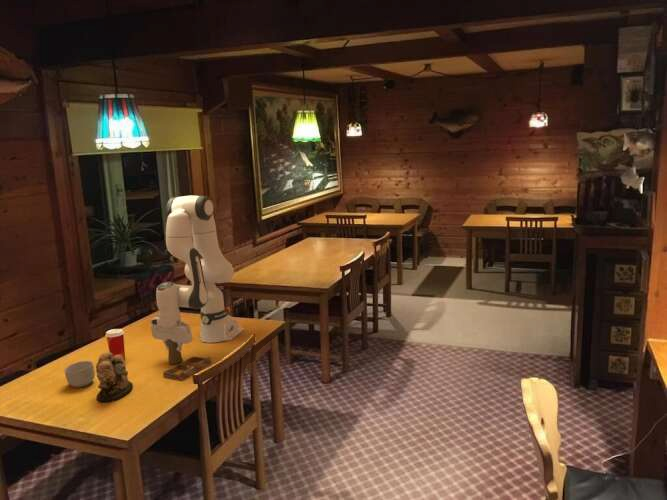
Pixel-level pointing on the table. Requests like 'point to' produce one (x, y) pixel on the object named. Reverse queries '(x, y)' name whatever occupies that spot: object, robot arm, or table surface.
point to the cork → (173, 352)
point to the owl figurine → (112, 378)
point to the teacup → (80, 373)
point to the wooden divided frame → (187, 368)
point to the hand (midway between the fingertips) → (174, 350)
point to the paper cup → (116, 342)
